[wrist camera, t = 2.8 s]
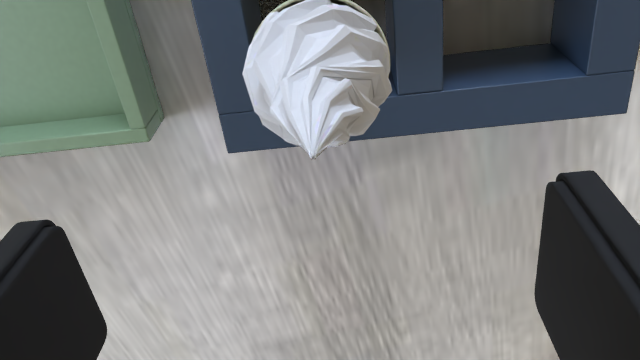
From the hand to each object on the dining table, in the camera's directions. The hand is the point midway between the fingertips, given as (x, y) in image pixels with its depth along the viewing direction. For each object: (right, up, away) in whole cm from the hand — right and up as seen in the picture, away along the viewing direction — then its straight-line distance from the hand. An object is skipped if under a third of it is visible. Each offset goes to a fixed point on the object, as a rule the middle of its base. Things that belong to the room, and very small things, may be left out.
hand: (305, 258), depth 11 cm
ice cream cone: (0, +10, +16) cm, 19 cm away
